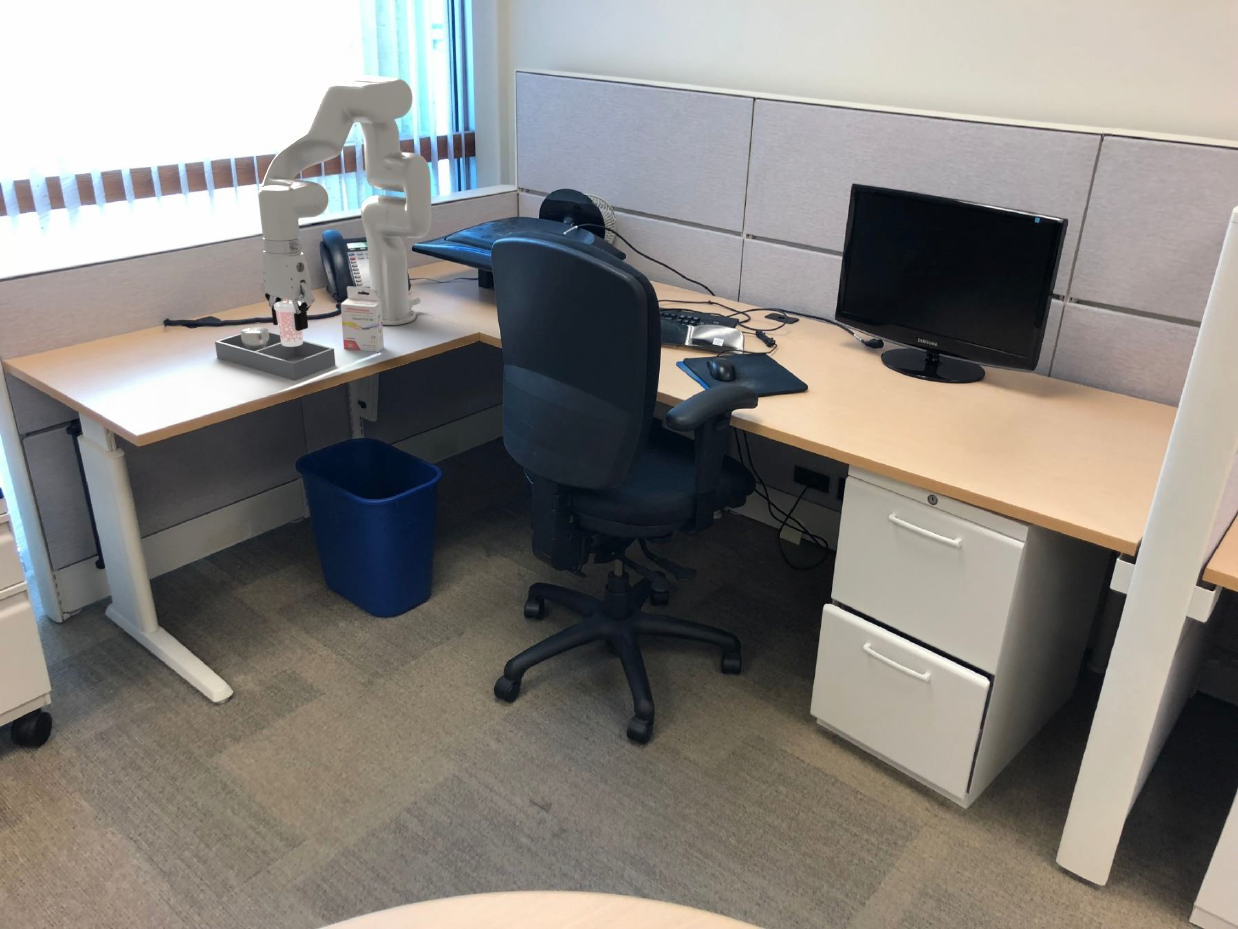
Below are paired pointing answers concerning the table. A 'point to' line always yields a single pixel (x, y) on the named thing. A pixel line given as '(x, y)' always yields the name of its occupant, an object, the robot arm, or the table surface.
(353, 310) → the ink cartridge box
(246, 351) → the organizer tray
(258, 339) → the metal tin
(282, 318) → the beverage cup
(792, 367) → the table surface
